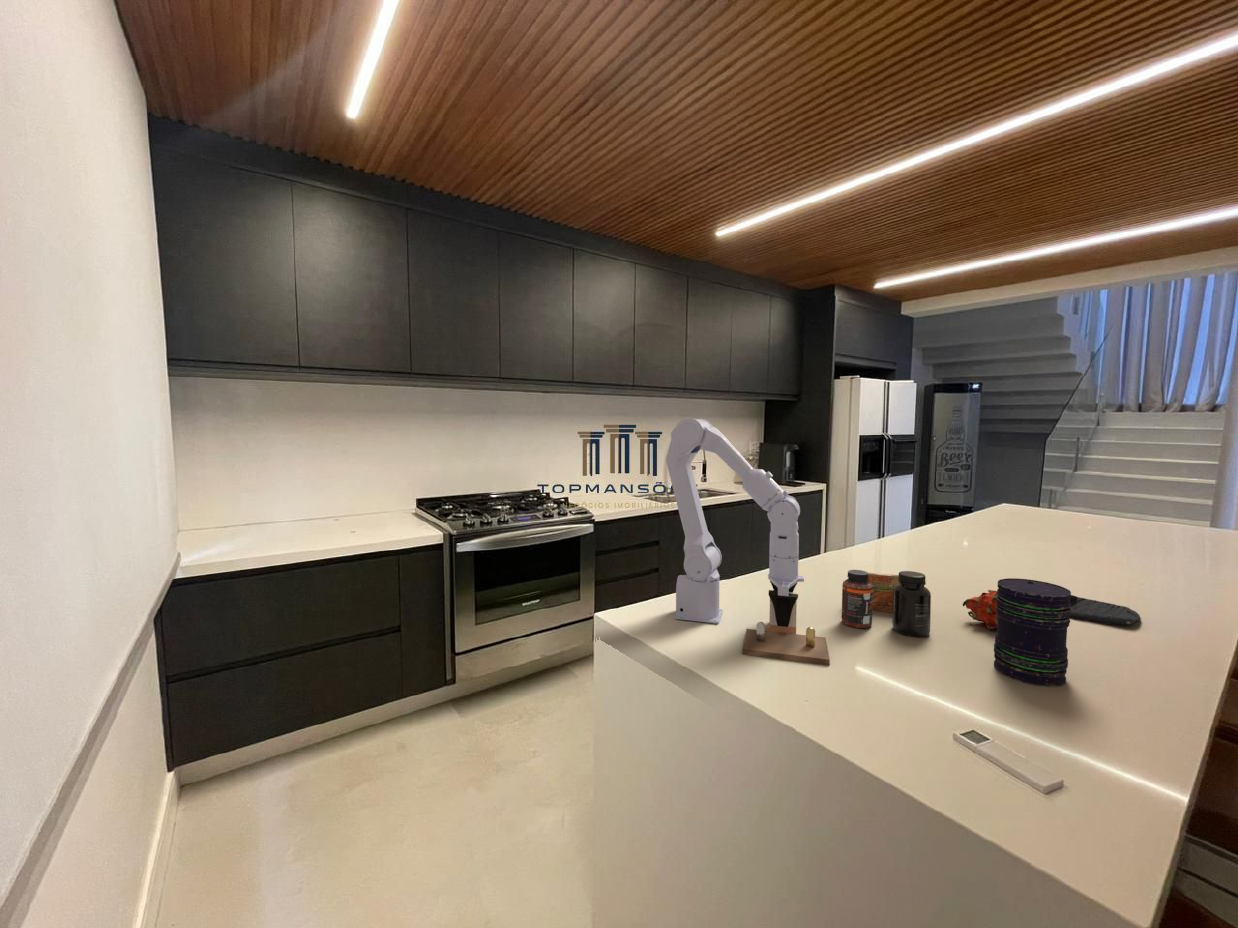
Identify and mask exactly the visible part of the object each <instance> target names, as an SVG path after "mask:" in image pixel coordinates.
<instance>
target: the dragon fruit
mask: <svg viewBox="0 0 1238 928" xmlns="http://www.w3.org/2000/svg"><path fill="white" fill-rule="evenodd" d="M996 596H997V590H994V589H993V590H992V589H989V590H988V589H987V592H981V594H980V595H979V596H974V597H971V598H967V599H965V601H963V602H962V607H965V608H966V609H967V610H970V611H968V612H967V613H968V616H969V617H971V618H972V620H975V621H977V622H980V623H983V625H985V626H986V628H987V629H988V630H991V631H992V630H997V621H998V615H997V613H996V607H997V603H996Z"/></svg>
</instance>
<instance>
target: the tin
mask: <svg viewBox="0 0 1238 928" xmlns="http://www.w3.org/2000/svg"><path fill="white" fill-rule="evenodd" d="M868 578H869V579H868V580H869V582H870V583H871V584H872V585H873V612H880V613H881V612H883V613H889V614H890V613H891V614H892V610H893V588H894V587H895V586H896V585H897V584H899V582H898V578H899V574H889V573H888V574H885V573H873V572H868Z"/></svg>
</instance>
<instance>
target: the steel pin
mask: <svg viewBox="0 0 1238 928" xmlns="http://www.w3.org/2000/svg"><path fill="white" fill-rule="evenodd" d="M756 630H757V633H756V640H757V641H759V642H764V641H765V631H766V624H765V623H764V621H759V622H757V623H756Z"/></svg>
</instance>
